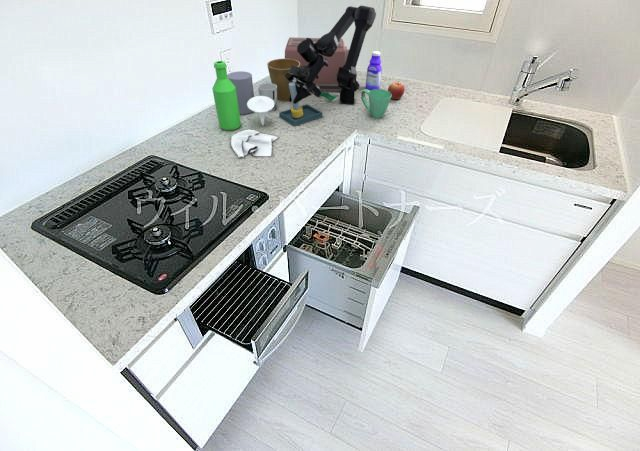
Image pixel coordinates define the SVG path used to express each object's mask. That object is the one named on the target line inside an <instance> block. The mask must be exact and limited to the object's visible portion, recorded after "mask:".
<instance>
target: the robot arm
mask: <svg viewBox="0 0 640 451" xmlns="http://www.w3.org/2000/svg"><path fill="white" fill-rule="evenodd" d="M376 17H377V12H376V9H375V8H374V7H372V6H368V5H367V6H366V5H362V4H361V5H359V6H358V7H356V6H352V5H350V6H347V7H346V9H345V12H344V13H343V14H342V15H341V17H340V18H339V19H338V20H337V22H336V23H335V25H334V26H333V27H332V28H331V30H330V31H329V32H328V33H325V34H323V35H322V36H320V37H319V38H320V39H319V40H318V41H317V42H316V43H313V41H312V39H311V38H312V37H306V38H307V39H306V40H304V41H302V42H301V43H300V44H299V45H298V47H297V52H298V53H299V54H300V55H301V56H302V58H303V59H304V60H305V61H306V62H308V64H307V65H306V66H302V67H301V68H300V67H297V66H294V65H291V68H290V71H289V72H288V73H287V74H286V75H285V78H286V79H288V80H289V81H290V82H294V83H295V85H296V91H297V95H296V97H295V99H294V101H293V103H294V104H296V103H297V102H299V103H300V102H301V101H303V100H304V99H306V98H307V97H310V96H312V93H313V95H314V96H315V97H317V98H321V96H320V95H321V93H322V90H321V89H320V88H319V87H318V86H317V85H316V84H314V83H313V81H314V80H315V78H316V79H318V78H319V77H318V76H317V75H318V74H319V72H320V70H321V69H322V67H323V66H326V67H328V59H325V58H323V56H322V55H324V56H327V57H331V56H333V54H334V53H335V51H336V49H337V48H338V42H339V40H340V39H343V36H344V35H345V34H346V32H347V31H348V30H349V29H350V27H351V26H352V25H353V24H354V27H355V28H354V33H353V35H352V39H351V42H350V46H349V52H348V56H347V59H346V63H345V65H344V66H343V67H339V70H338V74H337V82H338V86H339V87H341V88H342V90H340V92H339V101H340V102H339V103H340V104H342V105H343V104H345V105H347V104H348V105H354V104H355V95H356V92H357V91H358V90H359V89H360V87H361V86H360V85H361V84H360V83H359V82H358V81H357V76H358V72H357V68H356V67H357V64H358V61H359V58H360V56H361V51H362V47H363V44H364V41H365V38H366V34H367V32H368V31H369V30H370V29H371V28H372V26H373V24H374V22H375V20H376ZM319 54H321V55H319ZM312 91H313V92H312ZM288 102H290V103H292V99H291V94H290V97H289V101H288Z"/></svg>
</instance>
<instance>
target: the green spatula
mask: <svg viewBox="0 0 640 451" xmlns="http://www.w3.org/2000/svg"><path fill="white" fill-rule="evenodd" d="M318 87H319V88H320V86H318ZM312 93H314V92H313V91H312ZM320 97H323V98H325V99H326V100H327V101H329V102H332V101H335V99H337V98H338V97H339V94H334V95H333V94H330V92H328V91H322V93H321V95H320Z"/></svg>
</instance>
